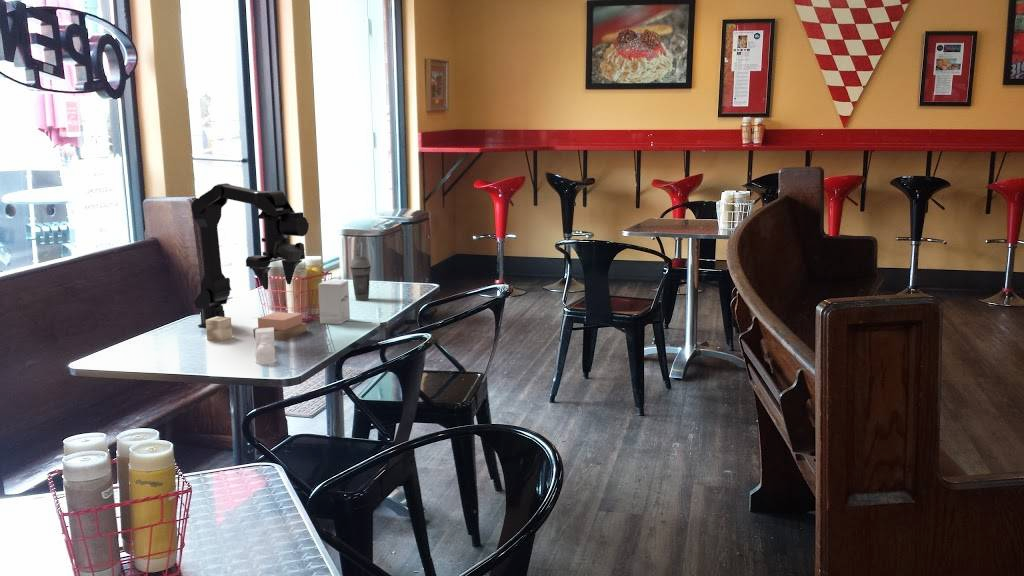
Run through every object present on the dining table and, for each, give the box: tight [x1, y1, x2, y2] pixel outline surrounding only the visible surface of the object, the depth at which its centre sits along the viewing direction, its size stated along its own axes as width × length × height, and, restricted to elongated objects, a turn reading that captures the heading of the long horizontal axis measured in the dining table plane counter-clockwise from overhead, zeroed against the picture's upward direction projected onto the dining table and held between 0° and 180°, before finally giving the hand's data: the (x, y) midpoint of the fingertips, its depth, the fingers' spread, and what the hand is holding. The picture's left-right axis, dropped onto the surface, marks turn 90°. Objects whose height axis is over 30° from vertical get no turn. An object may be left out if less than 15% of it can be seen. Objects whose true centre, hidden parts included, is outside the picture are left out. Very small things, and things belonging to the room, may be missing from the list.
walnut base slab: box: [252, 322, 308, 341], centre depth 264 cm, size 11×11×3 cm
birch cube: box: [205, 316, 233, 342], centre depth 260 cm, size 5×5×6 cm
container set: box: [254, 327, 277, 366], centre depth 241 cm, size 20×5×6 cm, turn 15°
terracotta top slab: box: [257, 311, 303, 330], centre depth 264 cm, size 9×9×3 cm
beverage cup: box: [349, 242, 372, 302], centre depth 310 cm, size 7×7×20 cm
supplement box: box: [317, 279, 351, 325], centre depth 278 cm, size 7×7×13 cm
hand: (277, 286), depth 263 cm, fingers open, 9 cm apart
